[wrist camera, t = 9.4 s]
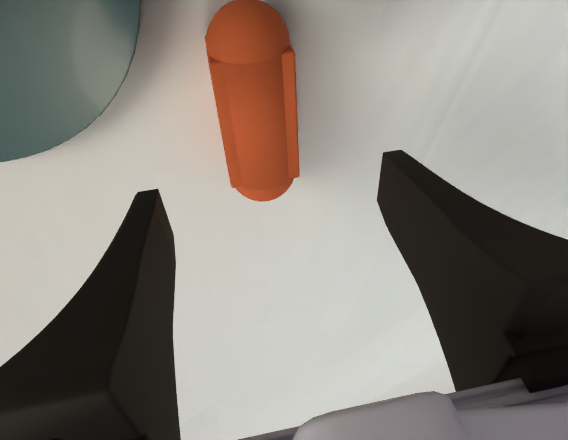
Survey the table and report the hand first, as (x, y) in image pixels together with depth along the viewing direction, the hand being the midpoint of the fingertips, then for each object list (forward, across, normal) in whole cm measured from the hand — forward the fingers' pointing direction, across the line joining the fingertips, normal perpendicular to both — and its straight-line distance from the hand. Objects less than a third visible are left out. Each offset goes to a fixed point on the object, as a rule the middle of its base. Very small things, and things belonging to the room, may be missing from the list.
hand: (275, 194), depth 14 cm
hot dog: (+7, 0, 0) cm, 7 cm away
